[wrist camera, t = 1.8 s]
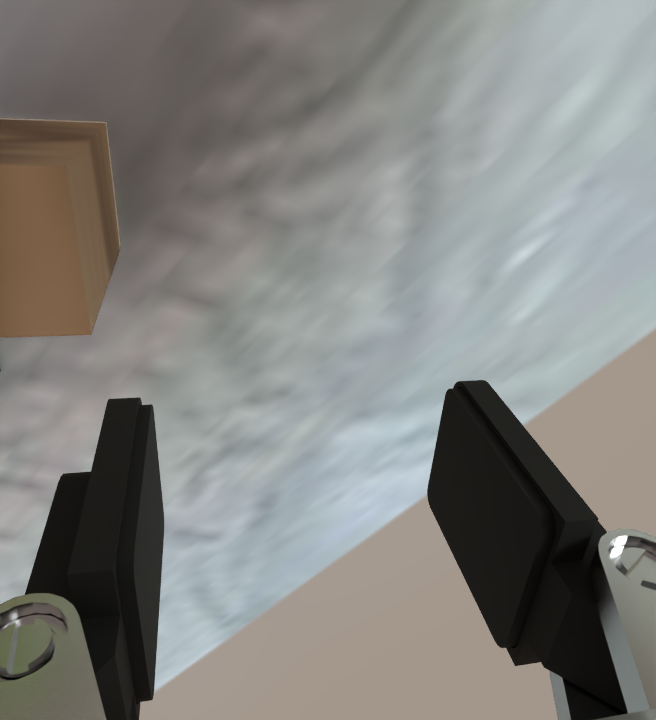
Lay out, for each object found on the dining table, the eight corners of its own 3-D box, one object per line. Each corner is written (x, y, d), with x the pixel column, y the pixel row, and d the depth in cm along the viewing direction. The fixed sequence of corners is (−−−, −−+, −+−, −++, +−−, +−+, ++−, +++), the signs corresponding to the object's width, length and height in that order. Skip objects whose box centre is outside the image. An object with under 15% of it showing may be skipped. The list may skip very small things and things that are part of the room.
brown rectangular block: (106, 121, 27) (65, 166, 19) (120, 246, 30) (91, 334, 22) (-36, 116, 26) (-149, 161, 18) (-7, 246, 29) (-92, 340, 20)
